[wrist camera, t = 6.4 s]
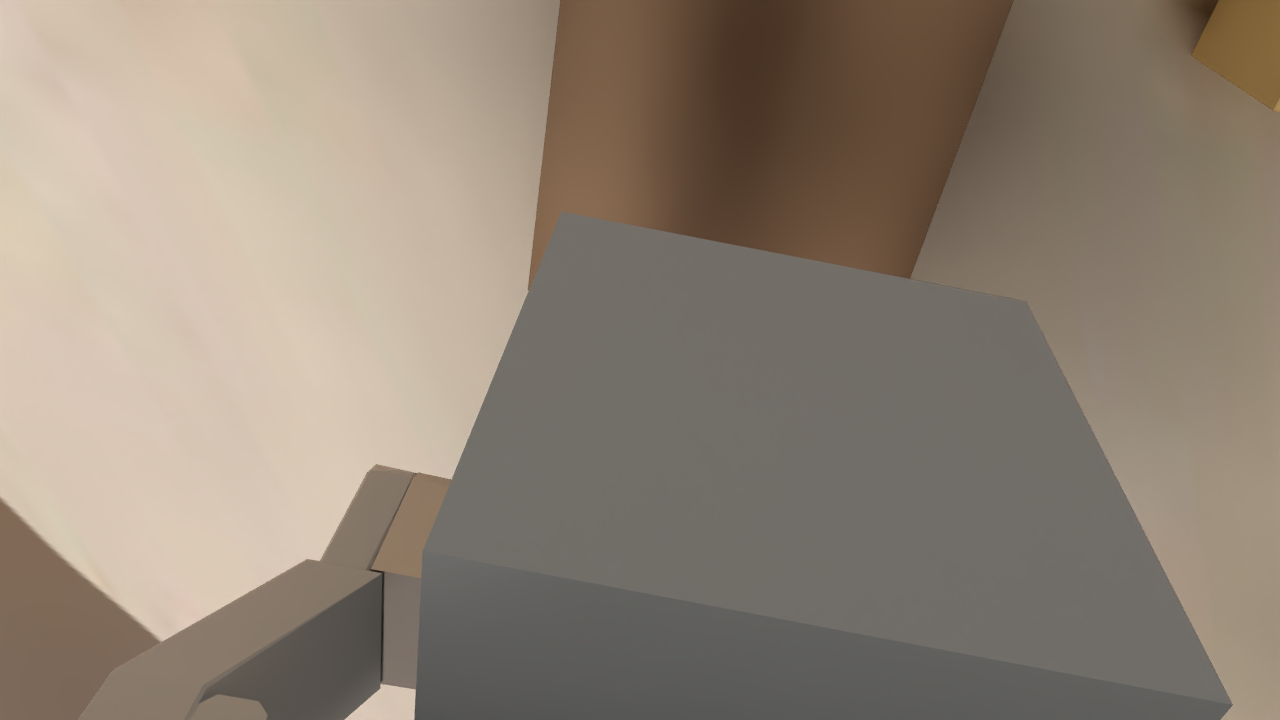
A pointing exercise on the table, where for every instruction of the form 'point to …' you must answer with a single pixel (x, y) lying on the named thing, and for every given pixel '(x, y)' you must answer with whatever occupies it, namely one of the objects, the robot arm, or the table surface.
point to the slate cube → (787, 508)
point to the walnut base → (764, 120)
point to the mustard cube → (1245, 47)
